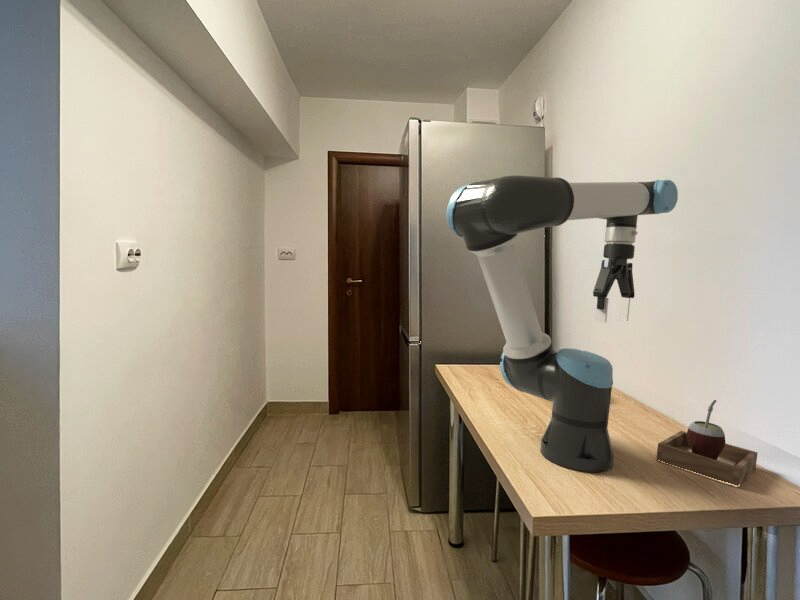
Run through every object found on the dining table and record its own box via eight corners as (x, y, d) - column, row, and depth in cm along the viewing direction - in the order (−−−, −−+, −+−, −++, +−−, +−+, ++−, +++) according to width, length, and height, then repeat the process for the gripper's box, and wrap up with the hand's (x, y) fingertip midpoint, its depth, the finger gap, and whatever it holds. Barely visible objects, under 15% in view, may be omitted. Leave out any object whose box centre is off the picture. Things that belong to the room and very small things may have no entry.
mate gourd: (701, 452, 103) (708, 389, 102) (734, 467, 96) (742, 399, 95) (675, 454, 102) (682, 389, 100) (707, 469, 94) (715, 400, 93)
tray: (737, 488, 89) (739, 469, 88) (656, 460, 100) (658, 443, 100) (755, 469, 98) (757, 452, 98) (679, 446, 110) (681, 430, 109)
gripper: (613, 239, 110) (604, 324, 112) (652, 247, 127) (644, 321, 128) (584, 239, 116) (576, 320, 117) (624, 247, 132) (617, 318, 134)
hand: (611, 321), depth 123 cm, fingers open, 13 cm apart
